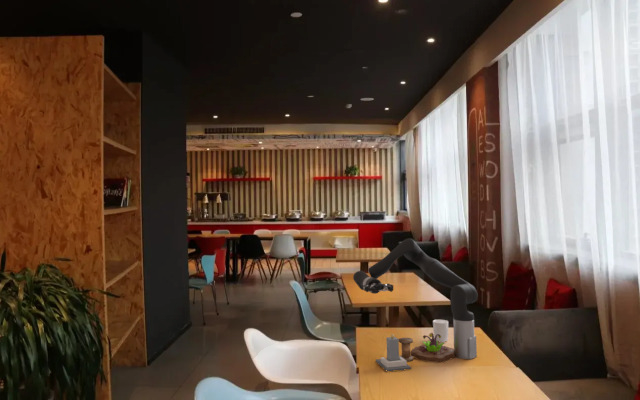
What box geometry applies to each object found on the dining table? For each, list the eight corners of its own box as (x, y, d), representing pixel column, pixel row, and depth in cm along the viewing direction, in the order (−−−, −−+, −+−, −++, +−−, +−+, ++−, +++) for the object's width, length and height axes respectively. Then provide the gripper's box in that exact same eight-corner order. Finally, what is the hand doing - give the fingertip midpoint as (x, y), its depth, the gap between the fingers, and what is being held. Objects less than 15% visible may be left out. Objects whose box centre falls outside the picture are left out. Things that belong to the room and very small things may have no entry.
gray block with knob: (387, 362, 212) (386, 333, 212) (395, 361, 213) (394, 333, 213) (390, 365, 208) (389, 336, 208) (399, 364, 209) (398, 335, 209)
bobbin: (416, 359, 219) (415, 339, 219) (407, 362, 214) (407, 342, 214) (398, 354, 226) (398, 335, 226) (390, 357, 221) (390, 338, 221)
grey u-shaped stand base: (375, 361, 216) (375, 355, 216) (398, 359, 219) (398, 352, 219) (387, 371, 202) (387, 364, 202) (411, 369, 205) (411, 362, 205)
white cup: (430, 339, 250) (429, 320, 251) (443, 337, 253) (443, 319, 253) (438, 343, 243) (438, 323, 243) (451, 341, 245) (451, 322, 245)
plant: (404, 357, 223) (403, 333, 223) (422, 347, 238) (421, 324, 238) (444, 365, 210) (444, 340, 211) (461, 354, 226) (460, 330, 226)
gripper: (358, 278, 244) (369, 283, 228) (384, 276, 247) (397, 281, 231) (359, 293, 244) (369, 298, 228) (385, 291, 247) (397, 297, 231)
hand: (383, 290), depth 230 cm, fingers open, 8 cm apart
